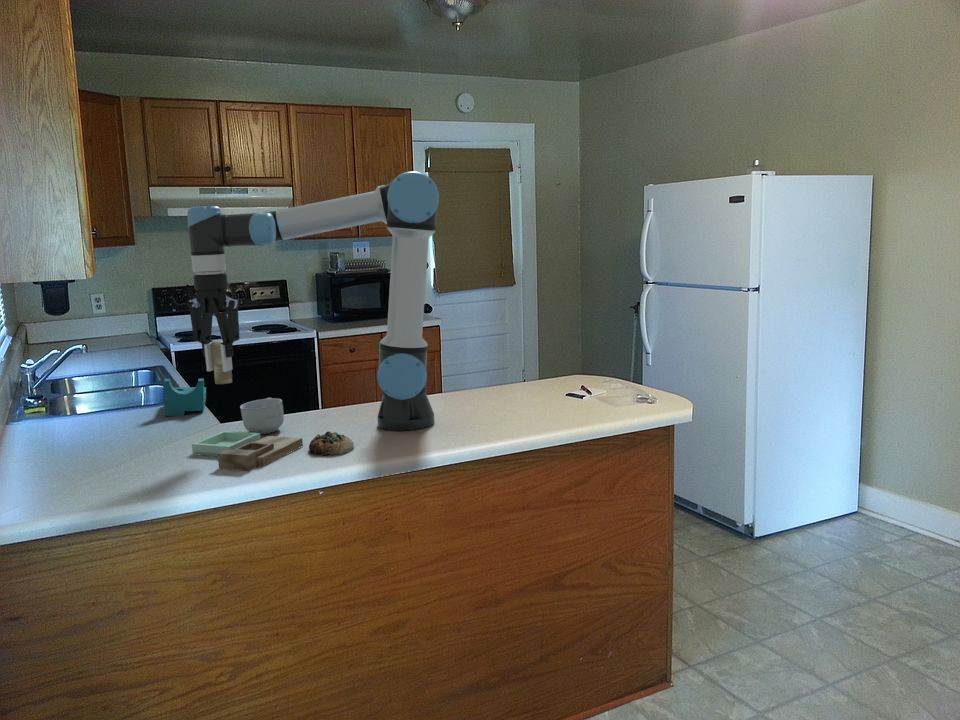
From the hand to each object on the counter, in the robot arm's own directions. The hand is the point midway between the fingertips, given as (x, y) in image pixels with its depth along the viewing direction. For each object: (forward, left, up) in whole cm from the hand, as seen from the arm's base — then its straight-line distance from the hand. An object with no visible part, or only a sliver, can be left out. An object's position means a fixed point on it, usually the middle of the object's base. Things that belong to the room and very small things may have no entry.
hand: (219, 370), depth 185 cm
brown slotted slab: (-12, +2, -20) cm, 24 cm away
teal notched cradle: (+42, -34, -20) cm, 58 cm away
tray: (0, -1, -20) cm, 20 cm away
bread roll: (-26, -5, -20) cm, 34 cm away
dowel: (0, -1, -3) cm, 3 cm away
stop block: (-12, +12, -20) cm, 26 cm away
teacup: (+1, -18, -20) cm, 27 cm away
